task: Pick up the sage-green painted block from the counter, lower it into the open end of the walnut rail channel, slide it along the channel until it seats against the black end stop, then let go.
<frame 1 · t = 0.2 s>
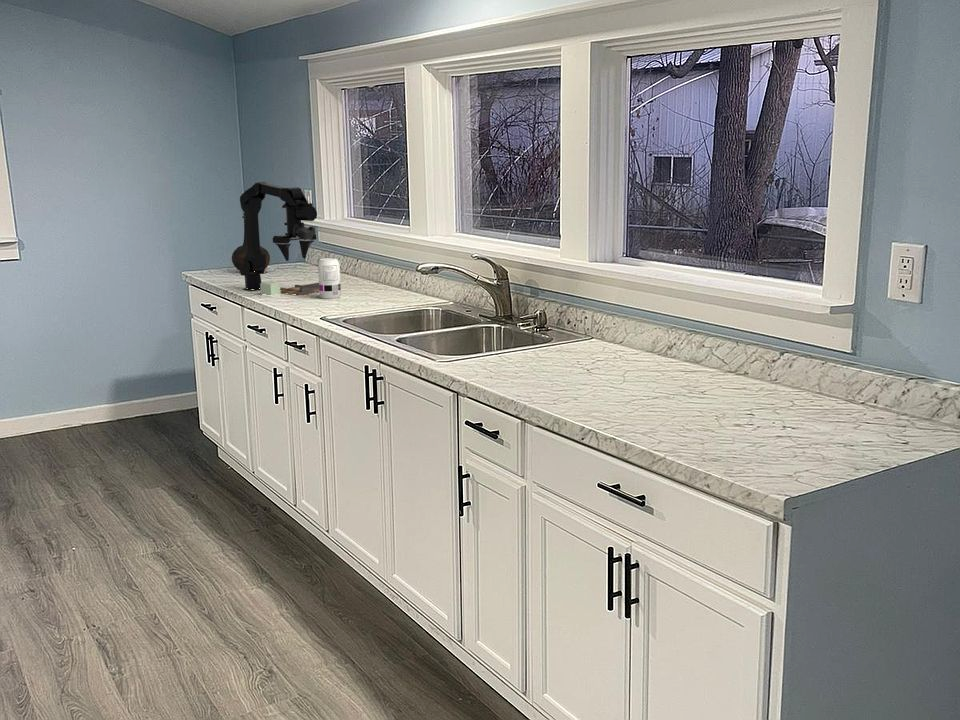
hand: (295, 259, 375), 14 cm above the worktop, tool pointing down, fingers open, 9 cm apart
channel board: (299, 292, 385), on the worktop
supplement can: (330, 298, 370), on the worktop
block: (270, 295, 379), on the worktop
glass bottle: (251, 272, 451), on the worktop
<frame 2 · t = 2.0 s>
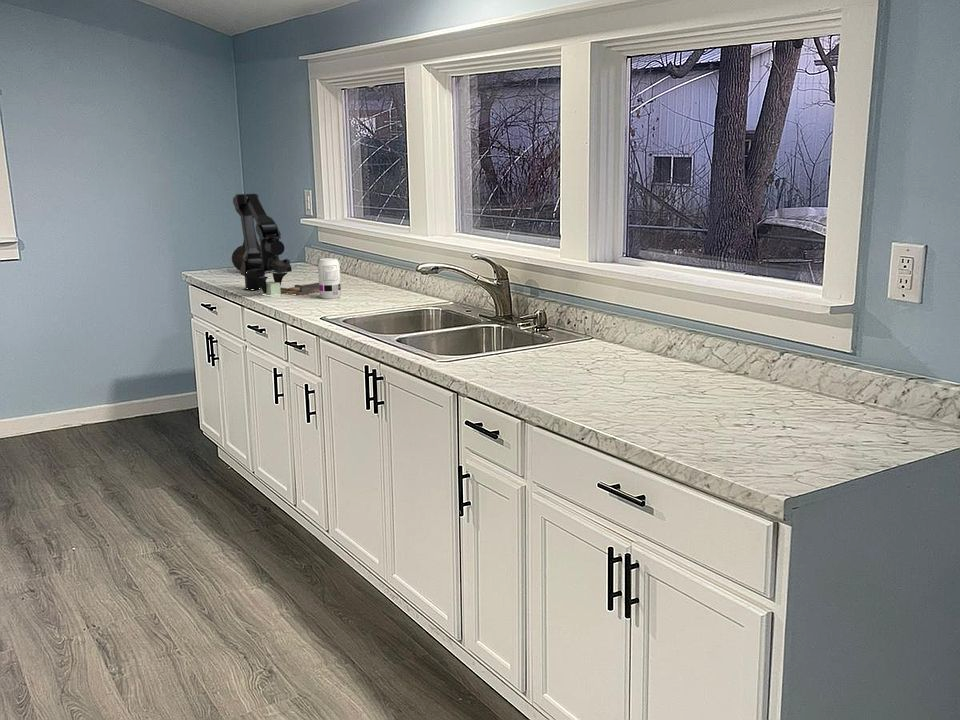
hand: (271, 292, 379), 1 cm above the worktop, tool pointing down, fingers open, 6 cm apart
nothing on the worktop moved.
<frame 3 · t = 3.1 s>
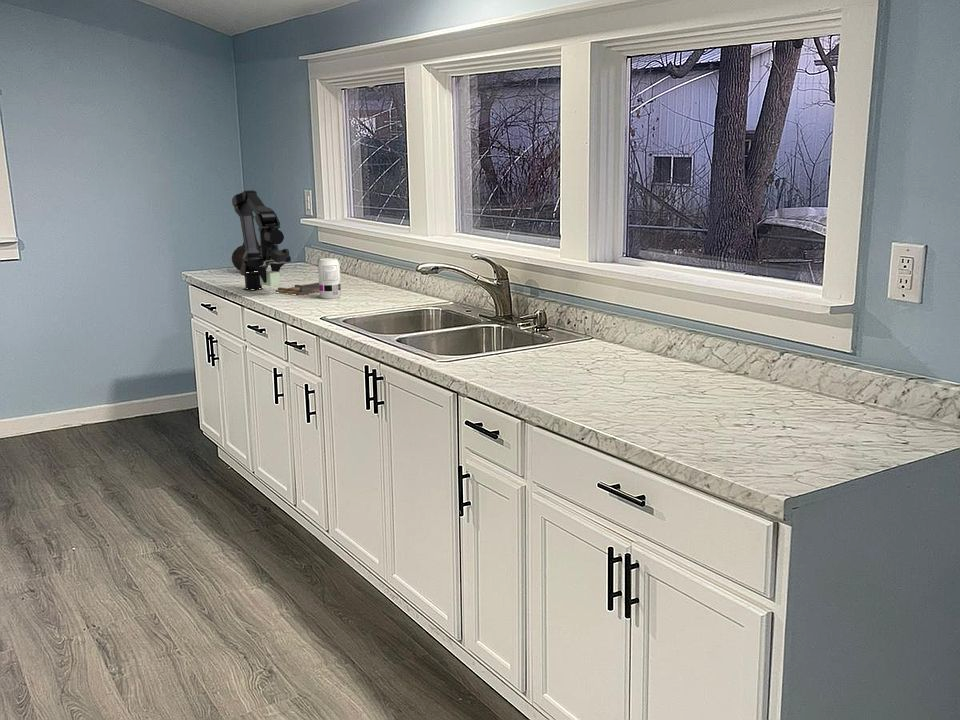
hand: (270, 281, 377), 5 cm above the worktop, tool pointing down, fingers closed on block, 5 cm apart
block: (270, 284, 378), point 4 cm above the worktop, touching gripper
everything else where it was.
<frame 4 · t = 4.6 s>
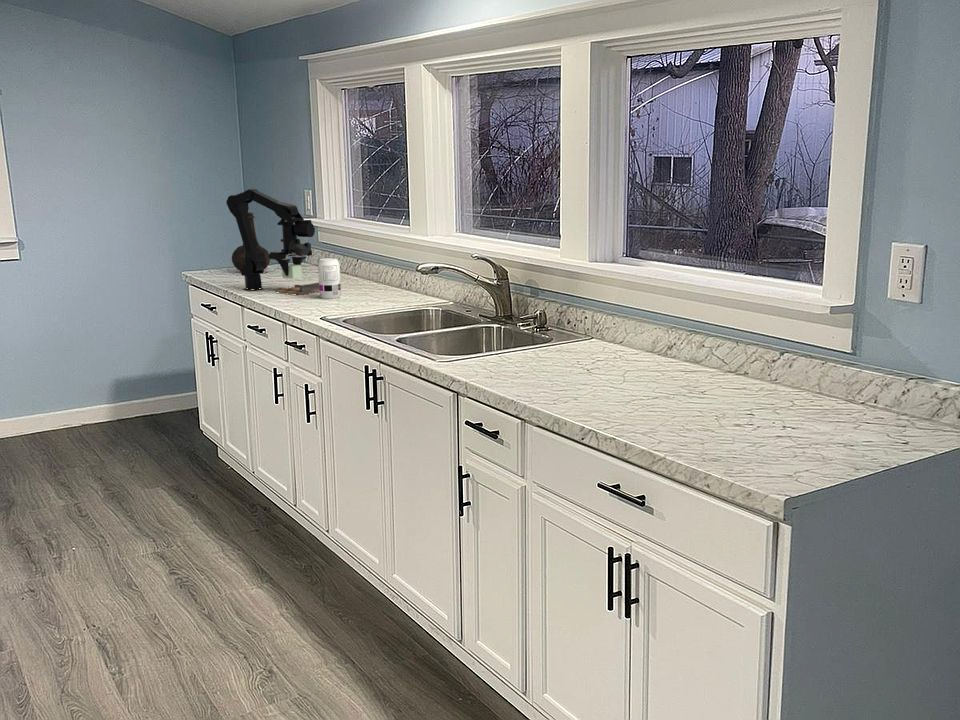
hand: (292, 275, 385), 7 cm above the worktop, tool pointing down, fingers closed on block, 5 cm apart
block: (292, 277, 385), point 6 cm above the worktop, touching gripper
everything else where it was.
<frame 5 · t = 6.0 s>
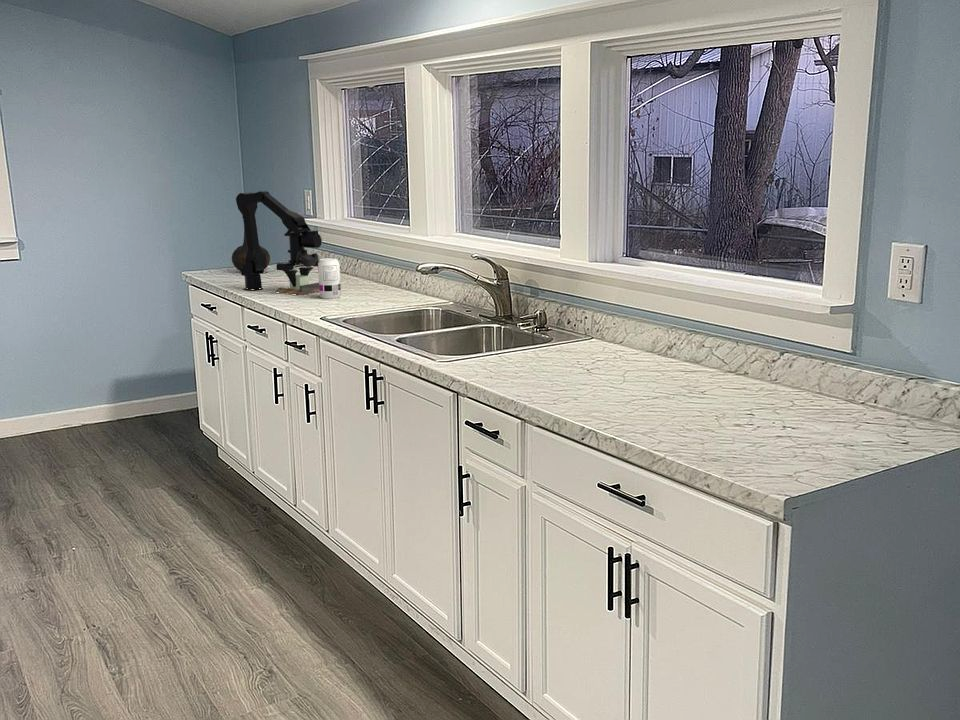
hand: (299, 285, 384), 3 cm above the worktop, tool pointing down, fingers closed on block, 5 cm apart
block: (299, 288, 384), point 2 cm above the worktop, touching gripper
everything else where it was.
when the fingers open (2 cm above the worktop, at t = 6.9 s): block stays where it is, resting on channel board.
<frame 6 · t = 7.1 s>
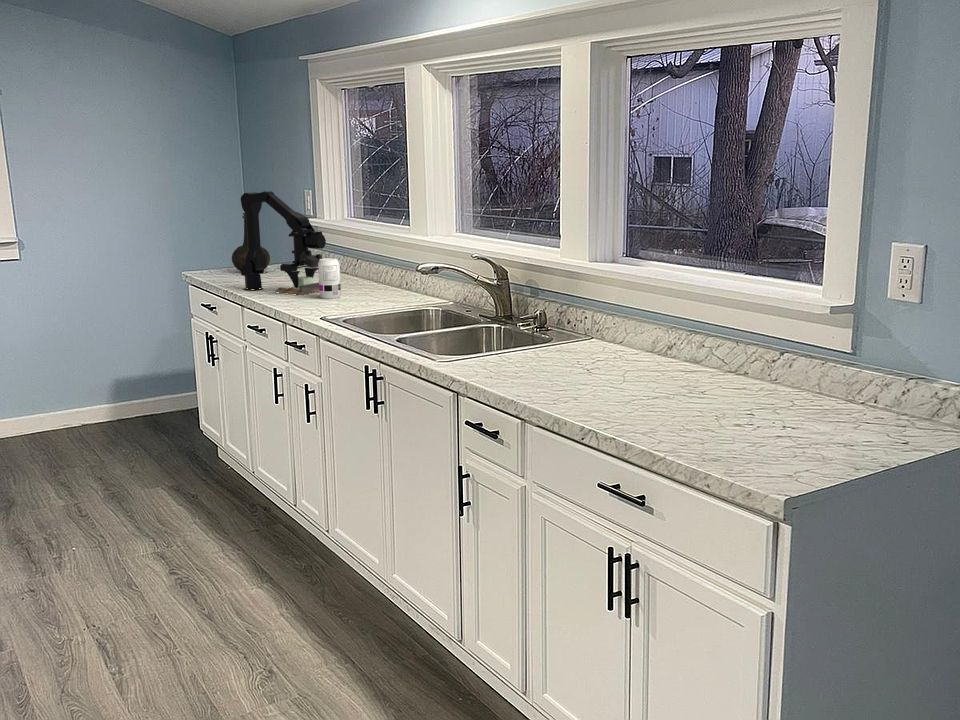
hand: (303, 286, 383), 2 cm above the worktop, tool pointing down, fingers open, 7 cm apart
block: (303, 289, 383), point 1 cm above the worktop, touching channel board
everything else where it was.
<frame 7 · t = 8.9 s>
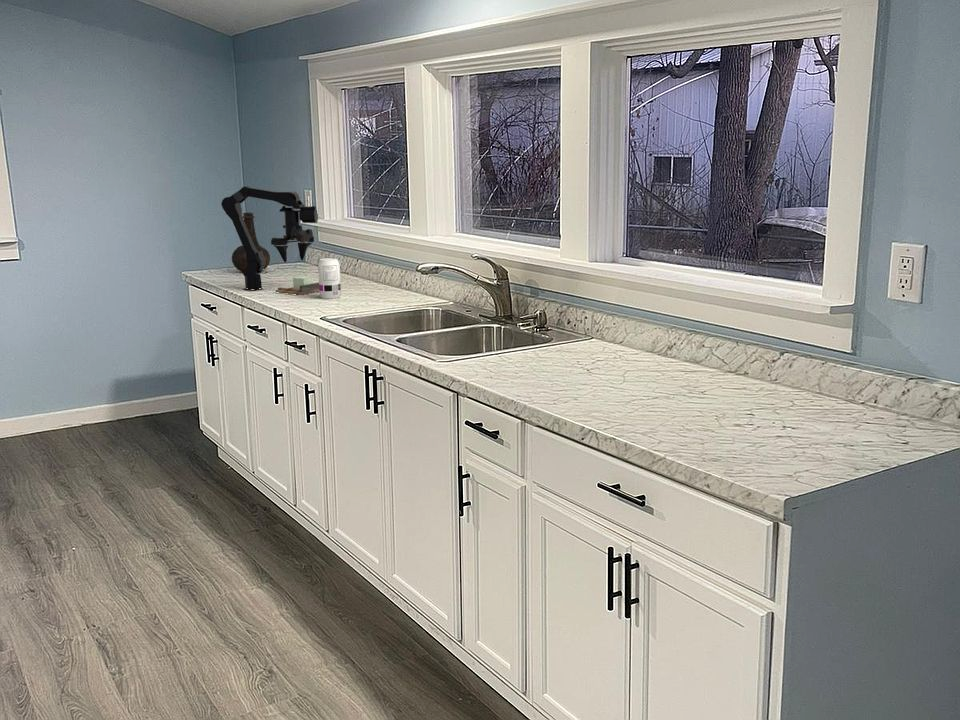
hand: (293, 261, 390), 12 cm above the worktop, tool pointing down, fingers open, 9 cm apart
nothing on the worktop moved.
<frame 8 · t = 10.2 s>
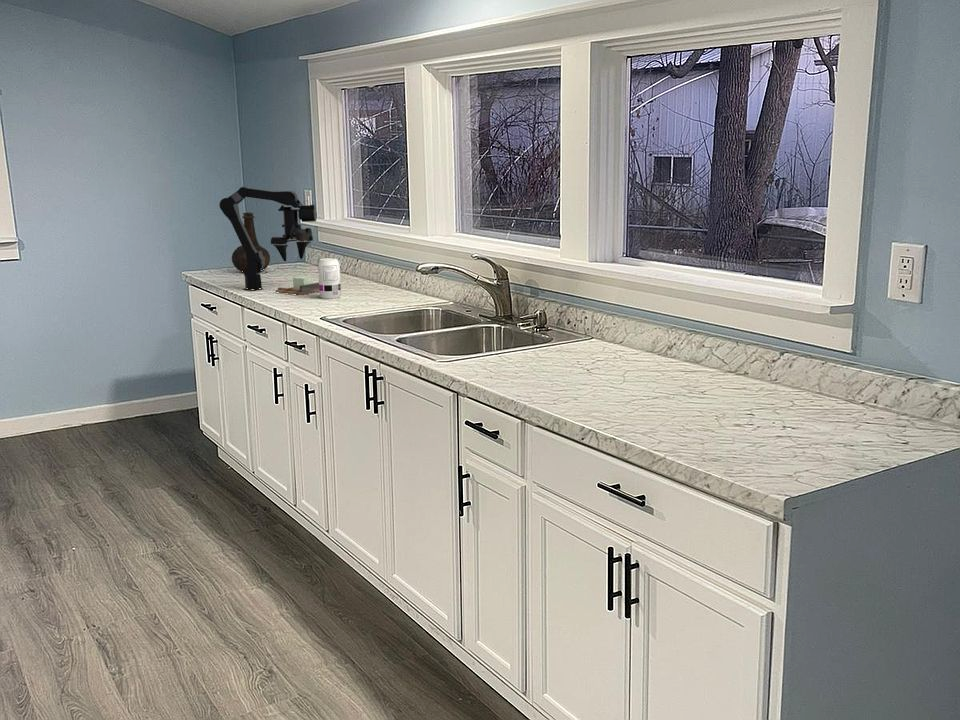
hand: (293, 260, 392), 12 cm above the worktop, tool pointing down, fingers open, 9 cm apart
nothing on the worktop moved.
at the end: block 0.2 cm from the target spot on the channel board, point 1.2 cm above the channel board's base; block tilted 0°; the gripper is holding nothing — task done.
